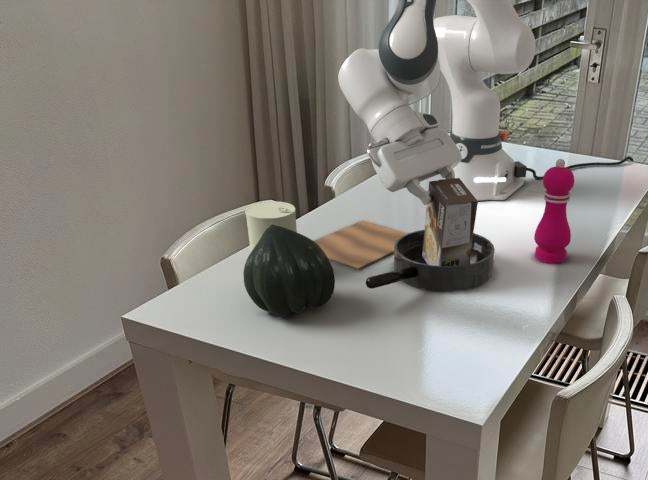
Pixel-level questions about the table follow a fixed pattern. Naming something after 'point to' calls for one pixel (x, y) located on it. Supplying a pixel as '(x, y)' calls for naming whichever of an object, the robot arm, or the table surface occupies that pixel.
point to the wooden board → (359, 244)
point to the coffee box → (449, 223)
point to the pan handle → (391, 277)
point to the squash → (288, 272)
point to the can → (268, 218)
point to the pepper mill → (554, 215)
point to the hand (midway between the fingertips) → (443, 196)
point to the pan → (444, 276)
